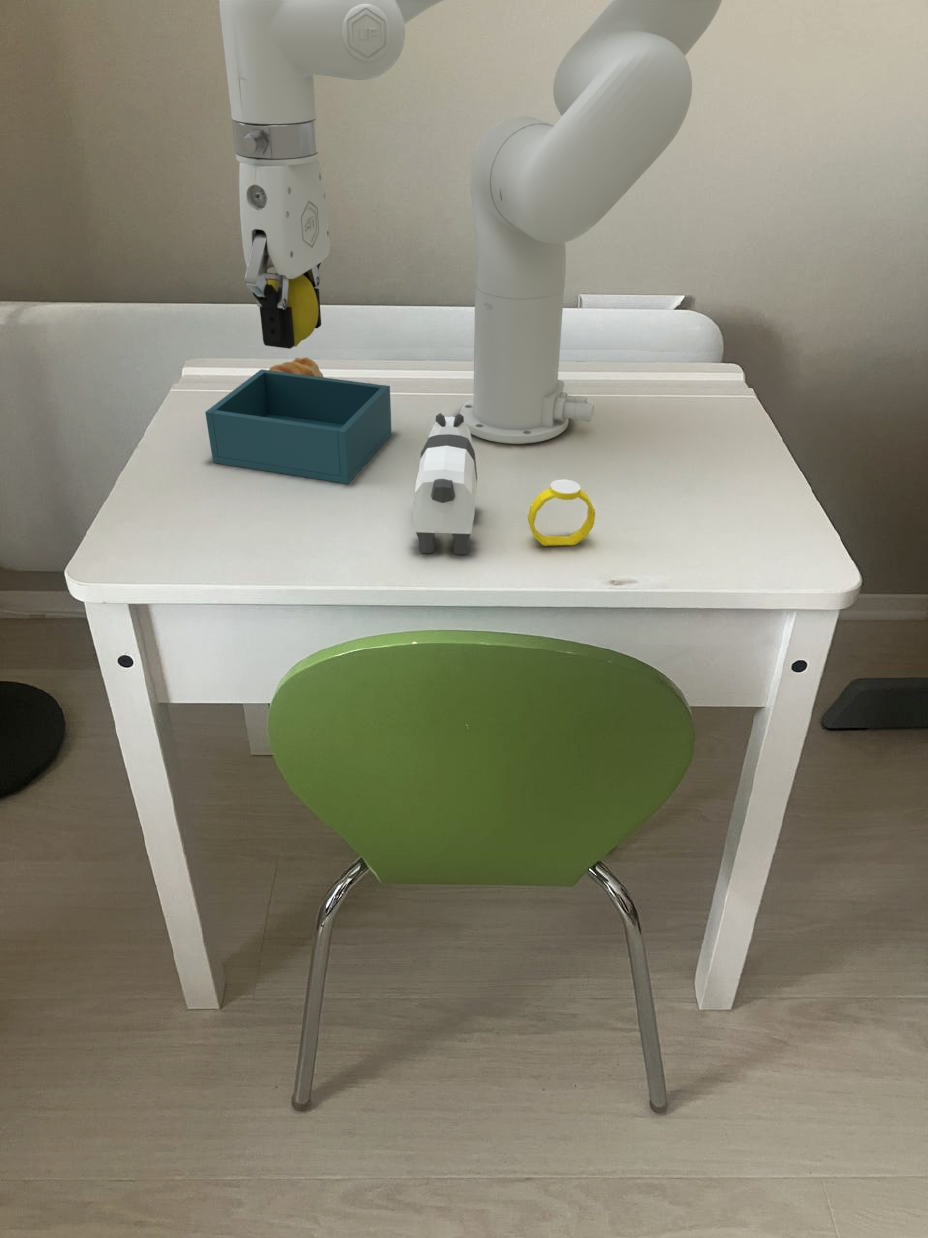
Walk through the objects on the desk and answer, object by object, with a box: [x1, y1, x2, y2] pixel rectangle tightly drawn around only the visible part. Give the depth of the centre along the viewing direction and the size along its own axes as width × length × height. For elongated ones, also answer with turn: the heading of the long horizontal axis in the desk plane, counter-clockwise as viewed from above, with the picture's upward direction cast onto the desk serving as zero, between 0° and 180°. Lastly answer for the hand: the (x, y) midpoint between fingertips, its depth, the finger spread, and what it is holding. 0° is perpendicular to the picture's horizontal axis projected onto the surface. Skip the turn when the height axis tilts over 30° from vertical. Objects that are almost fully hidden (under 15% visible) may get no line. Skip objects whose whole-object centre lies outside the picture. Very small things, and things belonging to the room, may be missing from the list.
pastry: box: [268, 357, 324, 377], centre depth 117 cm, size 9×7×4 cm
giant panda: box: [411, 412, 478, 556], centre depth 91 cm, size 15×6×10 cm, turn 177°
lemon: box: [268, 272, 319, 348], centre depth 97 cm, size 6×6×8 cm
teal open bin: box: [204, 368, 393, 485], centre depth 105 cm, size 16×13×6 cm
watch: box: [527, 478, 596, 547], centre depth 89 cm, size 6×3×6 cm, turn 98°
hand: (293, 334), depth 99 cm, fingers closed on lemon, 5 cm apart
